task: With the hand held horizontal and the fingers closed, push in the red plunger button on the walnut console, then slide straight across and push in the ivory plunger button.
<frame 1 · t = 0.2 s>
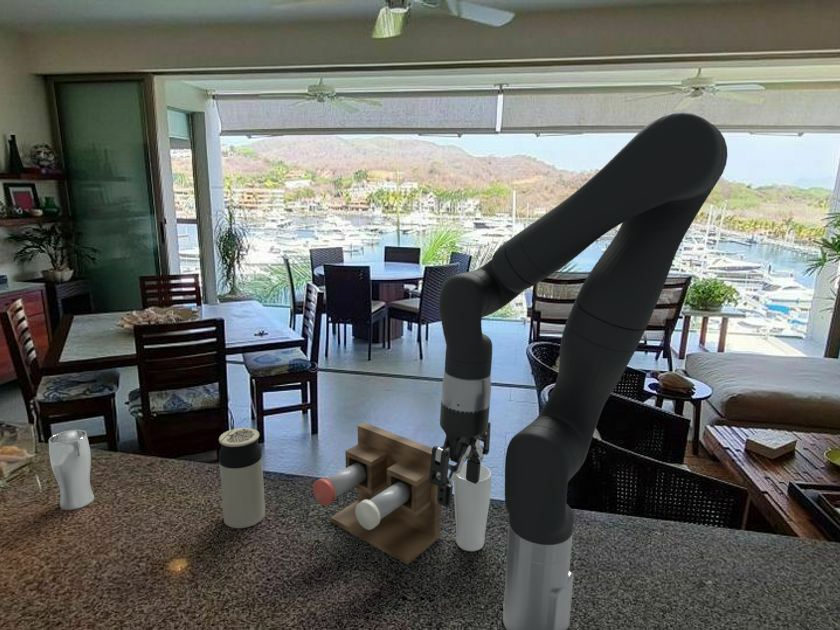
hand: (458, 492, 85), 18 cm above the countertop, tool pointing down, fingers open, 8 cm apart
red button: (341, 482, 100), point 11 cm above the countertop, slide at 0.0 cm
ivory button: (384, 503, 94), point 11 cm above the countertop, slide at 0.0 cm
beer glass: (77, 502, 112), on the countertop
travel mug: (244, 518, 107), on the countertop
drinking glass: (470, 544, 100), on the countertop
console: (394, 522, 106), on the countertop
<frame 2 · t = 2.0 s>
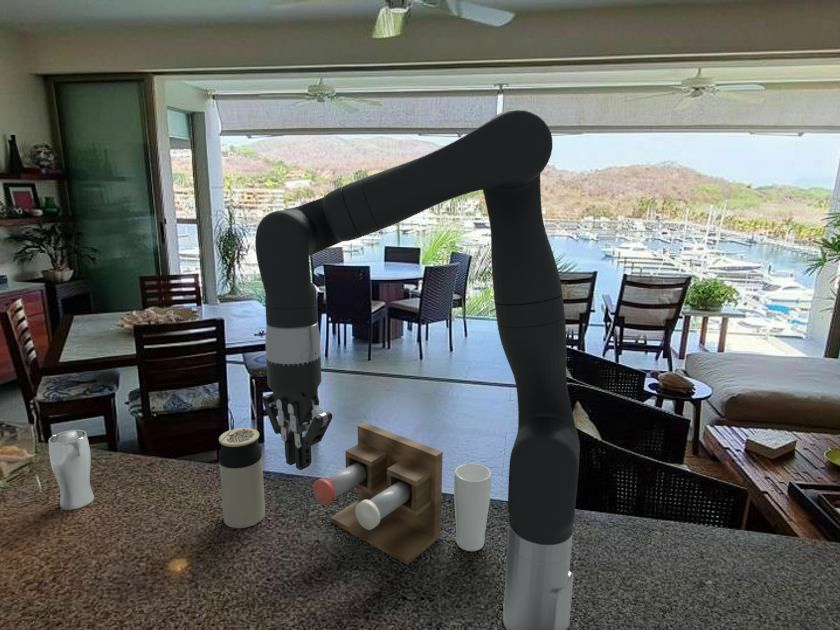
hand: (298, 464, 79), 25 cm above the countertop, tool pointing down, fingers closed
nothing on the countertop moved.
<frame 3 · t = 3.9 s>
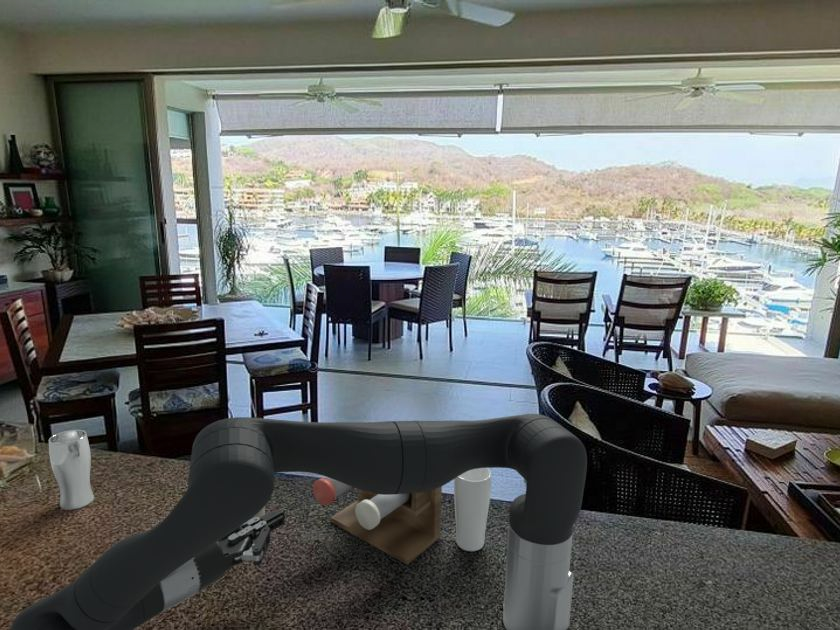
hand: (281, 515, 90), 11 cm above the countertop, tool horizontal, fingers closed
nothing on the countertop moved.
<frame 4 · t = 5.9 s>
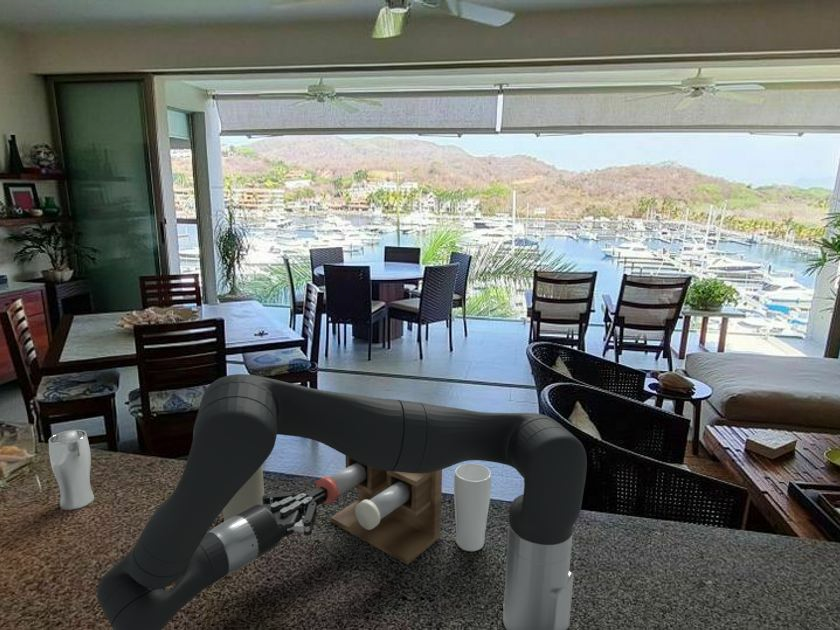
hand: (324, 492, 97), 11 cm above the countertop, tool horizontal, fingers closed
red button: (344, 480, 101), point 11 cm above the countertop, slide at 0.7 cm, touching gripper
everything else where it was.
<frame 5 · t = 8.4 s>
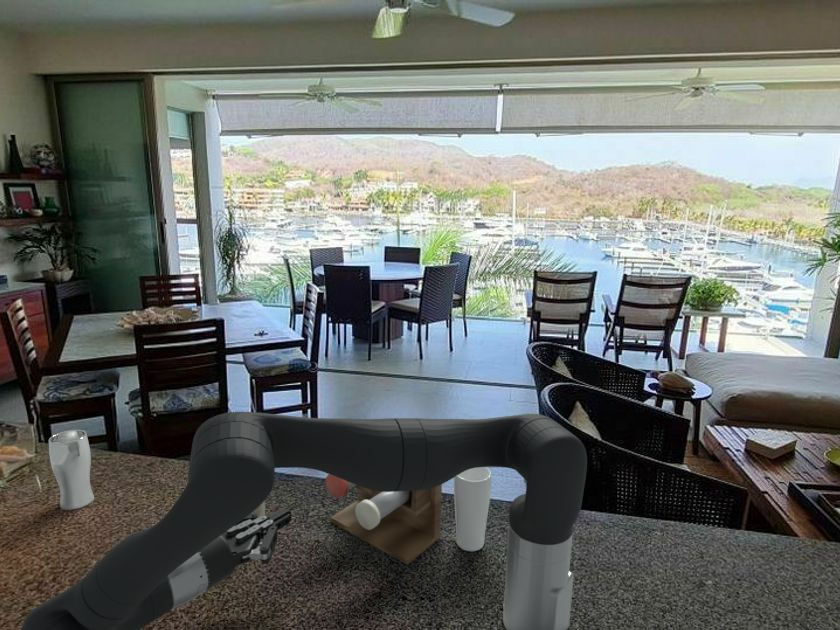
hand: (288, 514, 90), 11 cm above the countertop, tool horizontal, fingers closed
red button: (353, 475, 103), point 11 cm above the countertop, slide at 3.2 cm
everything else where it was.
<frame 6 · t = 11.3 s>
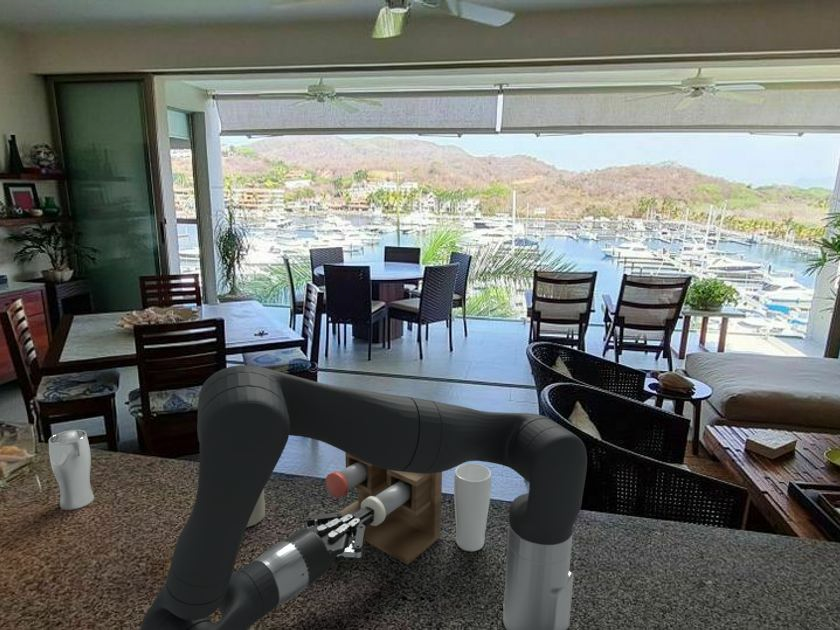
hand: (370, 512, 91), 11 cm above the countertop, tool horizontal, fingers closed
ivory button: (389, 499, 95), point 11 cm above the countertop, slide at 1.4 cm, touching gripper
everything else where it was.
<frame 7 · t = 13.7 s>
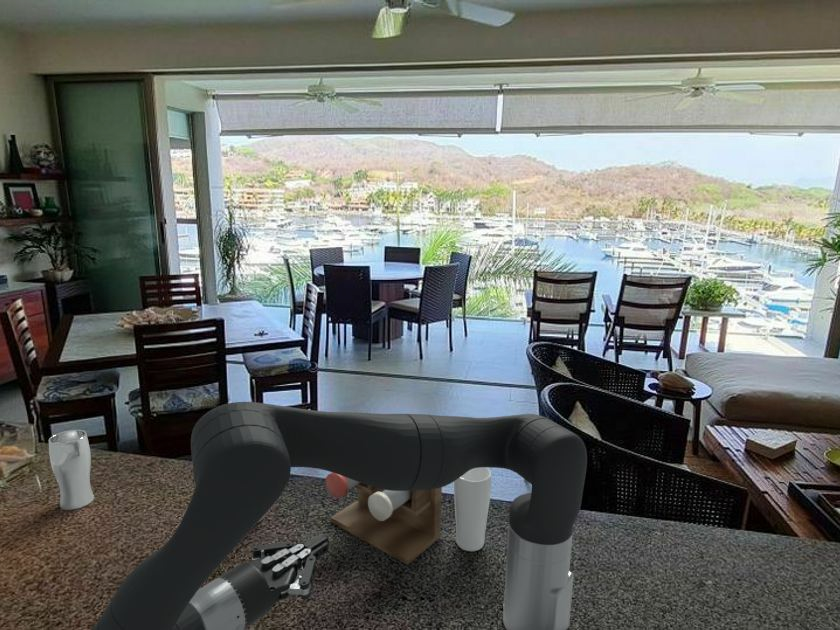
hand: (325, 541, 83), 11 cm above the countertop, tool horizontal, fingers closed
ivory button: (396, 495, 96), point 11 cm above the countertop, slide at 3.2 cm
everything else where it was.
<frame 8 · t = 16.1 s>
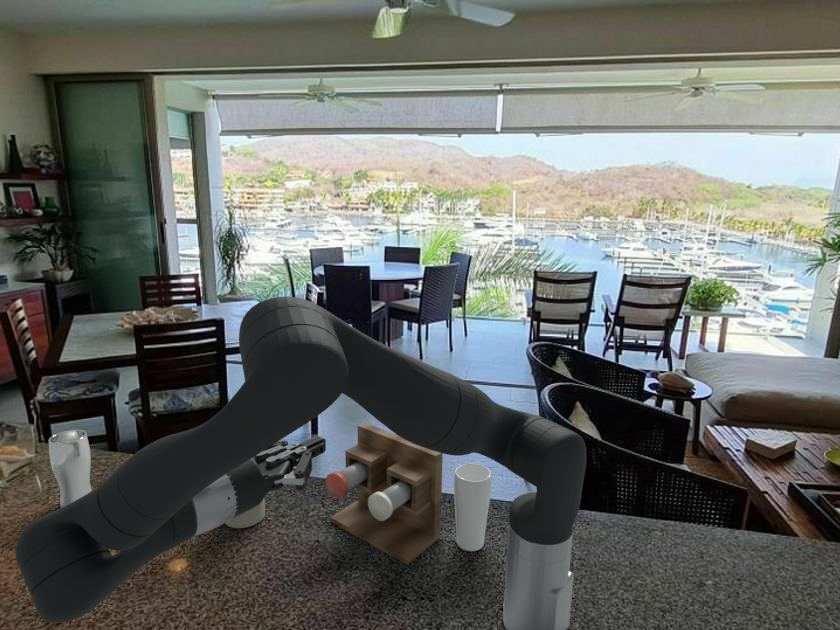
hand: (322, 443, 79), 28 cm above the countertop, tool horizontal, fingers closed
nothing on the countertop moved.
at the end: red button slide at 3.2 cm; ivory button slide at 3.2 cm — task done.
